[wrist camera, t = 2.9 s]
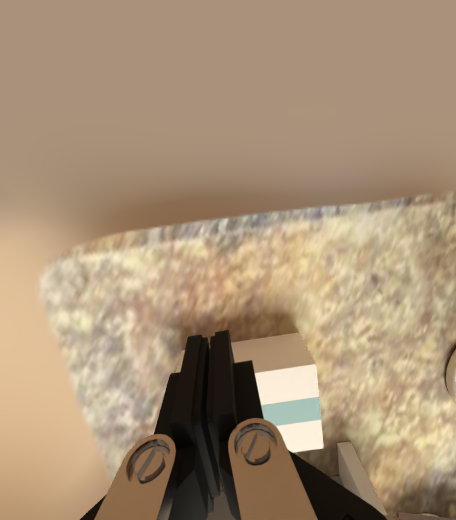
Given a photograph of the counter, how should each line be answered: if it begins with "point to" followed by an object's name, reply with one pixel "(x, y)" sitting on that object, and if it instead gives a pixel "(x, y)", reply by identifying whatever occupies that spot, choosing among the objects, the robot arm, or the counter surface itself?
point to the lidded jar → (428, 514)
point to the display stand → (348, 477)
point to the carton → (285, 387)
